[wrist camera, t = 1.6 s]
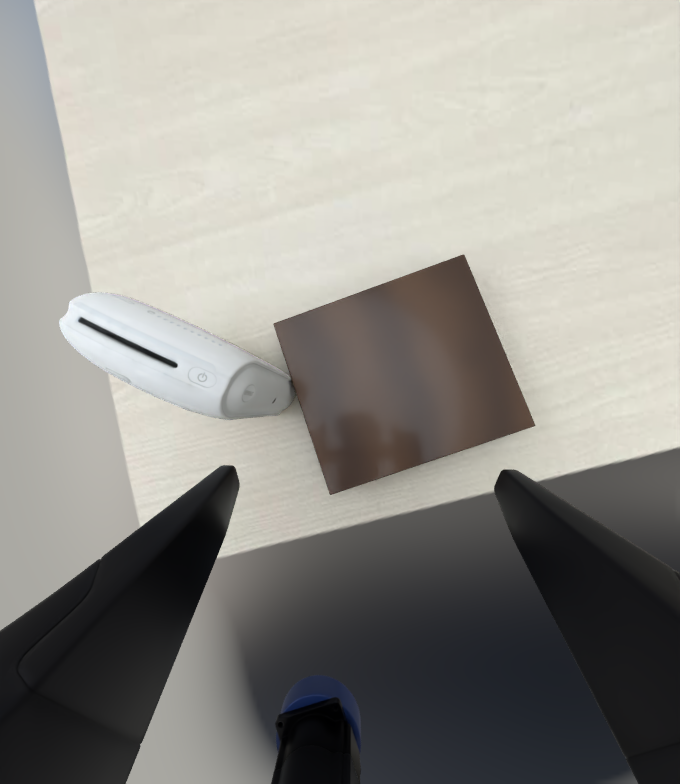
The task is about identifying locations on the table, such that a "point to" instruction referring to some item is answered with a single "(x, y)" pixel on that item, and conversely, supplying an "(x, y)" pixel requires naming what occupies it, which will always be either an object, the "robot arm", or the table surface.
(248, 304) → the table surface
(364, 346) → the walnut stand
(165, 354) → the photo printer
